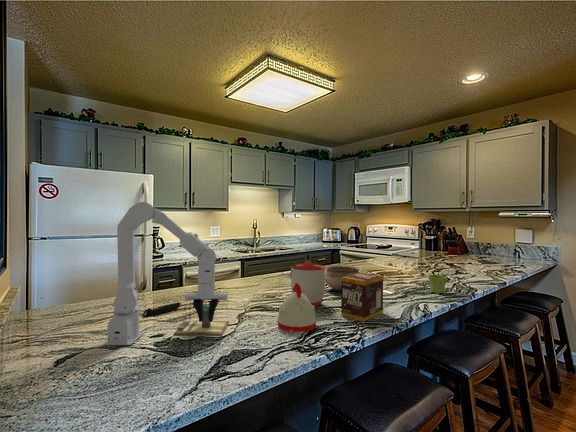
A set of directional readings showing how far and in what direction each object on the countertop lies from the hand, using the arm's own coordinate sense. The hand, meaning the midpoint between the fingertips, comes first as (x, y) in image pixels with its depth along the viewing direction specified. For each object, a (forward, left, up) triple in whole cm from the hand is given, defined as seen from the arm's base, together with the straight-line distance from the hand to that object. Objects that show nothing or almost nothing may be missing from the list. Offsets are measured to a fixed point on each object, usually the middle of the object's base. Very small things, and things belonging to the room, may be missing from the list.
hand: (206, 320), depth 108 cm
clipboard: (0, +1, -3) cm, 3 cm away
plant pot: (+53, -107, -3) cm, 119 cm away
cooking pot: (+56, -58, -3) cm, 81 cm away
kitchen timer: (+5, -32, -3) cm, 32 cm away
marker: (0, 0, -2) cm, 2 cm away
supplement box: (+17, -59, -3) cm, 61 cm away
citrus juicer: (+31, -37, -3) cm, 48 cm away
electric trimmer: (+18, +23, -3) cm, 29 cm away
